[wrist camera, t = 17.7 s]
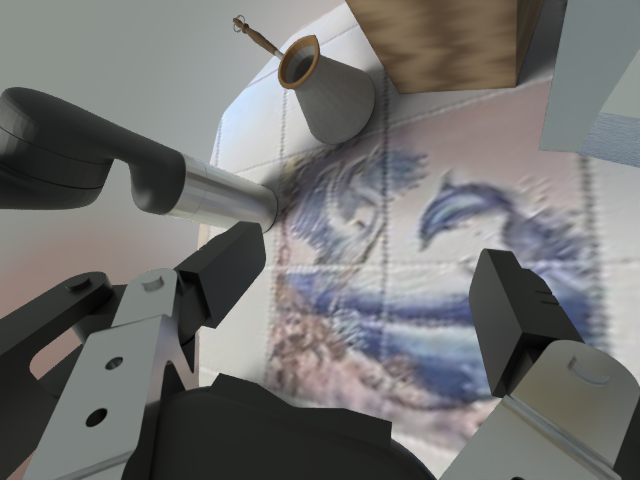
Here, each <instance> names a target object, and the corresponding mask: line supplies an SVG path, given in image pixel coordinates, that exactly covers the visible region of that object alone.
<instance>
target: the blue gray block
mask: <svg viewBox="0 0 640 480" xmlns="http://www.w3.org/2000/svg"><path fill="white" fill-rule="evenodd" d="M639 49H640V0H568V3H567V8H566V13H565V18H564V23H563V28H562V34H561V39H560V44H559V49H558V54H557V59H556V64H555V69H554V74H553V79H552V85H551V90H550V95H549V100H548V105H547V110H546V115H545V120H544V125H543V130H542V136H541V141H540V146H539V150H546V151H563V152H580V150H581V148H582V146H583V144H584V142H585V140H586V138H587V136H588V134H589V132H590V130H591V128H592V126H593V124H594V122H595V120H596V118H597V116H598V114H599V112H600V110H601V109H602V107H603V106H604V104H605V102H606V101H607V99H608V98H609V96H610V94H611V93H612V91H613V90H614V88H615V87H616V85H617V83H618V82H619V80H620V79H621V77H622V76H623V74H624V72H625V71H626V69H627V68H628V66H629V65H630V63H631V61H632V60H633V58H634V57H635V55H636V54H637V52H638V50H639Z"/></svg>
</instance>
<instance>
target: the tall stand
mask: <svg viewBox="0 0 640 480" xmlns="http://www.w3.org/2000/svg"><path fill="white" fill-rule="evenodd" d="M345 1H346V3H347V4H348V6H349V8H350V10H351V11H352V13H353V15H354V17H355V18H356V20H357V22H358V23H359V25H360V27H361V29H362V30H363V32H364V34H365V36H366V37H367V39H368V41H369V43H370V44H371V46H372V48H373V49H374V51H375V53H376V55H377V56H378V58H379V60H380V62H381V63H382V65H383V67H384V69H385V70H386V72H387V74H388V75H389V77H390V79H391V81H392V82H393V84H394V86H395V88H396V89H397V91H398V93H399V94H402V93H420V92H439V91H458V90H477V89H496V88H515V87H516V84H517V81H518V78H519V75H520V72H521V69H522V66H523V63H524V60H525V57H526V54H527V51H528V48H529V45H530V42H531V39H532V36H533V33H534V30H535V27H536V24H537V21H538V18H539V15H540V12H541V9H542V7H543V4H544V1H545V0H345Z"/></svg>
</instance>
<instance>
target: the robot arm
mask: <svg viewBox="0 0 640 480" xmlns="http://www.w3.org/2000/svg"><path fill="white" fill-rule="evenodd" d="M114 159H119V160H121V161H124V162H126V163H128V165H129V169H130V174H131V192H132V197H133V200H134V202H135V204H136V206H137V207H138V208H139V209H141V210H143V211H145V212H148V213H153V214H158V215H163V216H168V217H173V218H178V219H183V220H187V221H192V222H197V223H202V224H206V225H211V226H216V227H220V228H225V229H229V230H227V231H226V232H224V233H222V234H219V235H217V236H215V237H214V238H213V239H211V240H210V241H209V242H207V244H206V245H204V246H202V247H201V248H200V249H199V251H198V250H197V251H196V252H195V253H193V254H192V255H191V256H189V257H188V258H187V259H186V260H184V261H183V262H182V263H181V264H179V265H178V266H177V267H175V268H174V269H173V270H172V269H168V268H162V269H155V270H151V271H148V272H145V273H143V274H141V275H139V276H137V277H136V278H134V279H133V280H132V281H131V282H130V283H129V284H126V285H111V283H110V281H109V279H108V277H107V276H106V274H105V273H103V272H88V273H83V274H80V275H77V276H74V277H72V278H69V279H67V280H65V281H63V282H62V283H60V284H58V285H57V286H55V287H53V288H52V289H50V290H48V291H47V292H45V293H43V294H42V295H40V296H38V297H37V298H35V299H34V300H32V301H30V302H28V303H27V304H25V305H24V306H22V307H20V308H19V309H17V310H15V311H13V312H12V313H10V314H9V315H7V316H5V317H4V318H2V319H0V480H6V479H7V478H8V477H9V476H10V475H11V474H12V473H13V472H14V471H15V470H16V469H17V468H18V467H19V466H20V465H21V464H22V463H23V462H24V461H25V460H26V459H27V457H29V456H30V455H31V454H32V452H33V451H34V450H35V449H36V448H37V449H36V451H35V453H34V455H33V458H32V460H31V462H30V464H29V466H28V468H27V470H26V473H25V475H24V477H23V479H22V480H437V479H436V478H435V476H434V475H433V474H432V473H431V472H430V471H429V470H428V468H427V467H426V466H425V465H424V464H423V463H422V462H421V461H420V460H419V459H418V458H417V457H416V456H415V455H414V454H413V453H411V452H410V451H409V450H408V449H406V448H405V447H404V446H402V445H401V444H400V443H398V442H396V441H395V440H393V439H391V429H392V422H390V421H386V420H383V419H379V418H376V417H372V416H369V415H365V414H362V413H358V412H355V411H351V410H348V409H344V408H297V407H293V406H291V405H289V404H287V403H286V402H284V401H283V400H281V399H280V398H278V397H277V396H275V395H274V394H272V393H271V392H269V391H267V390H266V389H264V388H263V387H261V386H260V385H258V384H257V383H253V382H250V381H246V380H243V379H239V378H236V377H232V376H229V375H225V374H222V373H219V375H218V376H217V378H216V379H215V381H214V382H213V384H212V385H211V386H206V387H199V334H198V331H197V330H198V329H199V328H200V327H201V326H206V327H210V328H214V329H216V328H217V326H218V325H219V324H220V323H221V321H222V320H223V319H224V318H225V316H226V315H227V314H228V313H229V311H230V310H231V309H232V308H233V306H234V305H235V304H236V303H237V301H238V300H239V299H240V298H241V296H242V295H243V294H244V293H245V292H246V290H247V289H248V288H249V287H250V285H251V284H252V283H253V282H254V280H255V279H256V278H257V277H258V275H259V274H260V273H261V272H262V270H263V269H264V266H265V263H266V253H265V246H264V240H263V233H264V232H266V231H267V230H268V229H269V228H270V227H271V225H272V223H273V222H274V219H275V217H276V213H277V200H276V196H275V195H274V193H273V192H272V191H271V190H270V189H268V188H266V187H263V186H261V185H259V184H256V183H254V182H252V181H249V180H247V179H244V178H242V177H239V176H237V175H234V174H232V173H230V172H227V171H225V170H222V169H220V168H217V167H215V166H212V165H210V164H207V163H205V162H202V161H200V160H198V159H195V158H192V157H190V156H188V155H185V154H183V153H181V152H178V151H176V150H174V149H171V148H169V147H166V146H164V145H162V144H159V143H157V142H155V141H153V140H150V139H148V138H146V137H143V136H141V135H139V134H136V133H134V132H131V131H129V130H127V129H125V128H123V127H120V126H118V125H116V124H114V123H112V122H110V121H108V120H105V119H103V118H101V117H99V116H97V115H95V114H93V113H91V112H88V111H86V110H84V109H82V108H80V107H78V106H76V105H73V104H71V103H69V102H66V101H64V100H62V99H60V98H57V97H54V96H51V95H49V94H46V93H43V92H40V91H36V90H33V89H28V88H21V87H14V88H8V89H6V90H5V91H4V92H3V93H2V95H1V97H0V209H21V210H23V209H24V210H61V209H62V210H63V209H74V208H80V207H84V206H87V205H90V204H91V203H93V202H94V201H95V200H96V199H97V197H98V196H99V194H100V192H101V190H102V188H103V186H104V183H105V181H106V178H107V176H108V173H109V171H110V168H111V166H112V163H113V161H114ZM469 305H470V309H471V313H472V317H473V321H474V325H475V329H476V333H477V338H478V342H479V346H480V350H481V354H482V358H483V362H484V366H485V370H486V374H487V378H488V382H489V386H490V390H491V395H492V396H495V397H499V398H503V399H502V400H501V401H500V402H499V404H498V405H497V406H496V407H495V409H494V410H493V411H492V413H491V414H490V415H489V416H488V418H487V419H486V420H485V421H484V423H483V424H482V425H481V427H480V428H479V429H478V430H477V432H476V433H475V434H474V435H473V437H472V438H471V439H470V441H469V442H468V443H467V444H466V446H465V447H464V448H463V449H462V451H461V452H460V453H459V455H458V456H457V457H456V458H455V460H454V461H453V462H452V463H451V465H450V466H449V467H448V468H447V470H446V471H445V472H444V474H443V475H442V476H441V477H440V479H439V480H640V387H639V385H638V383H637V381H636V379H635V378H634V376H633V375H632V374H631V373H630V372H629V371H628V370H627V369H626V368H625V367H624V366H623V365H622V364H621V363H619V362H618V361H617V360H615V359H614V358H612V357H611V356H609V355H608V354H606V353H604V352H602V351H601V350H599V349H596V348H594V347H592V346H589V345H587V344H585V342H584V341H583V339H582V338H581V336H580V335H579V333H578V331H577V330H576V328H575V327H574V325H573V324H572V322H571V321H570V319H569V318H568V316H567V315H566V313H565V312H564V310H563V308H562V307H561V306H559V302H558V301H557V299H556V298H555V296H553V295H552V292H551V290H550V289H549V287H548V285H547V284H546V282H545V281H544V280H543V279H542V278H540V277H539V276H538V275H536V274H535V273H534V272H533V271H531V270H530V269H524V268H521V266H520V264H519V263H518V261H517V259H516V257H515V256H514V254H513V252H511V251H504V250H495V249H486V248H485V249H483V250H482V252H481V254H480V257H479V260H478V263H477V267H476V270H475V273H474V276H473V279H472V283H471V286H470V291H469ZM70 327H71V328H72V329H73V331H74V332H75V334H76V335H77V336H78V338H79V339H80V341H81V342H82V344H81V345H80V346H78V347H77V348H76V349H75V350H74V351H72V352H71V353H70V354H69V355H68V356H66V357H65V358H64V359H63V360H62V361H60V362H59V363H58V364H57V365H56V366H55V367H53V368H52V369H51V370H50V371H49V372H47V373H46V374H45V375H44V376H43V377H42V378H40V379H39V380H37V379H36V378H35V377H34V376H33V374H32V373H31V372H30V368H29V366H30V362H31V360H32V358H33V357H34V356H35V355H36V353H38V352H39V351H40V350H41V349H43V348H44V347H45V346H46V345H48V344H49V343H51V342H52V341H53V340H55V339H56V338H57V337H58V336H60V335H61V334H62V333H64V332H65V331H66V330H68V329H69V328H70Z"/></svg>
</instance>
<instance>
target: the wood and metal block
mask: <svg viewBox="0 0 640 480" xmlns="http://www.w3.org/2000/svg"><path fill="white" fill-rule="evenodd" d="M579 154H581V155H585V156H590V157H594V158H599V159H603V160H608V161H612V162H617V163H621V164H626V165H631V166H635V167H640V49H639V50H638V52H637V54H636V55H635V57H634V58H633V60H632V61H631V63H630V65H629V66H628V68H627V69H626V71H625V72H624V74H623V76H622V77H621V79H620V80H619V82H618V83H617V85H616V87H615V88H614V90H613V91H612V93H611V94H610V96H609V98H608V99H607V101H606V102H605V104H604V106H603V107H602V109H601V110H600V112H599V114H598V116H597V118H596V120H595V122H594V124H593V126H592V128H591V130H590V132H589V134H588V136H587V138H586V140H585V142H584V144H583V146H582V148H581V150H580V152H579Z"/></svg>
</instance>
